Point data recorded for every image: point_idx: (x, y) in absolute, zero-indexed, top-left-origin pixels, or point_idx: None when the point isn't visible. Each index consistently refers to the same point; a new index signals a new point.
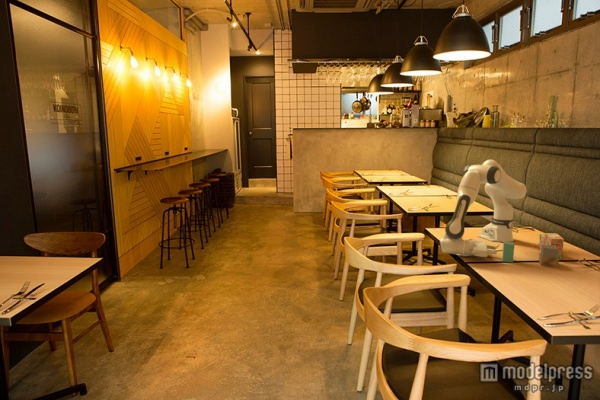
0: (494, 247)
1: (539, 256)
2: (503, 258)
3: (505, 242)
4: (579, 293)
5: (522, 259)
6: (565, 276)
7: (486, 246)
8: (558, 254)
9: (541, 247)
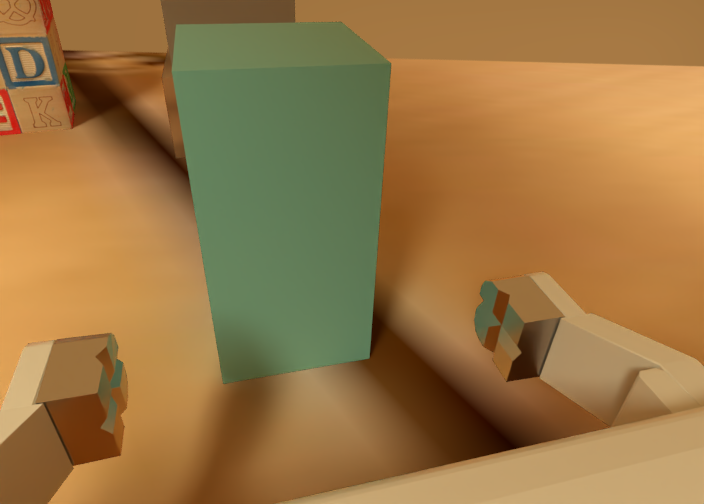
0: (114, 362)
1: (174, 110)
2: (370, 317)
3: (237, 58)
4: (672, 80)
5: (153, 227)
6: (458, 95)
7: (412, 487)
8: (63, 66)
9: (178, 4)
